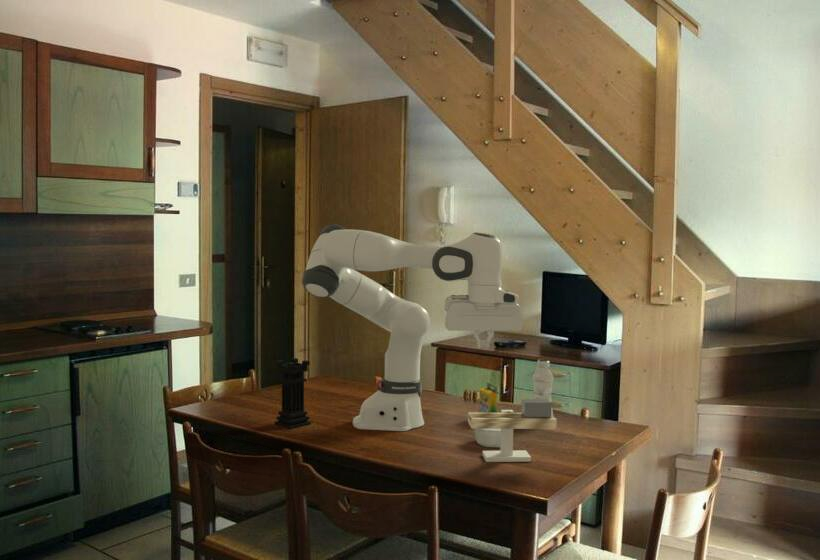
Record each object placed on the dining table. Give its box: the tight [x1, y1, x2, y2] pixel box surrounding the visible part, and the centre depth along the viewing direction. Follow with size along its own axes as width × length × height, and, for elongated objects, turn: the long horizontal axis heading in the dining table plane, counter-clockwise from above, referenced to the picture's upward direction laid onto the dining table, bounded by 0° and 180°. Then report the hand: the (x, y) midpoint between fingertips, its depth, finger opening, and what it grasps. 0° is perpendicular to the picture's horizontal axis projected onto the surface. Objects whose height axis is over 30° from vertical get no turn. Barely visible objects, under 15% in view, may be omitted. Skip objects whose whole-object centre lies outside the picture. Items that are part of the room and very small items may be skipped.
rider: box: [520, 398, 553, 418], centre depth 196 cm, size 7×4×5 cm, turn 94°
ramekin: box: [474, 429, 501, 448], centre depth 216 cm, size 11×11×5 cm
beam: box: [467, 411, 558, 430], centre depth 196 cm, size 22×7×3 cm, turn 94°
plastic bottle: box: [532, 359, 554, 416], centre depth 239 cm, size 6×7×20 cm
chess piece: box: [274, 357, 312, 430], centre depth 233 cm, size 8×8×20 cm
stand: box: [482, 409, 532, 463], centre depth 202 cm, size 12×6×13 cm, turn 94°
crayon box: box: [479, 382, 498, 413], centre depth 241 cm, size 7×3×12 cm, turn 20°
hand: (483, 347), depth 197 cm, fingers closed
